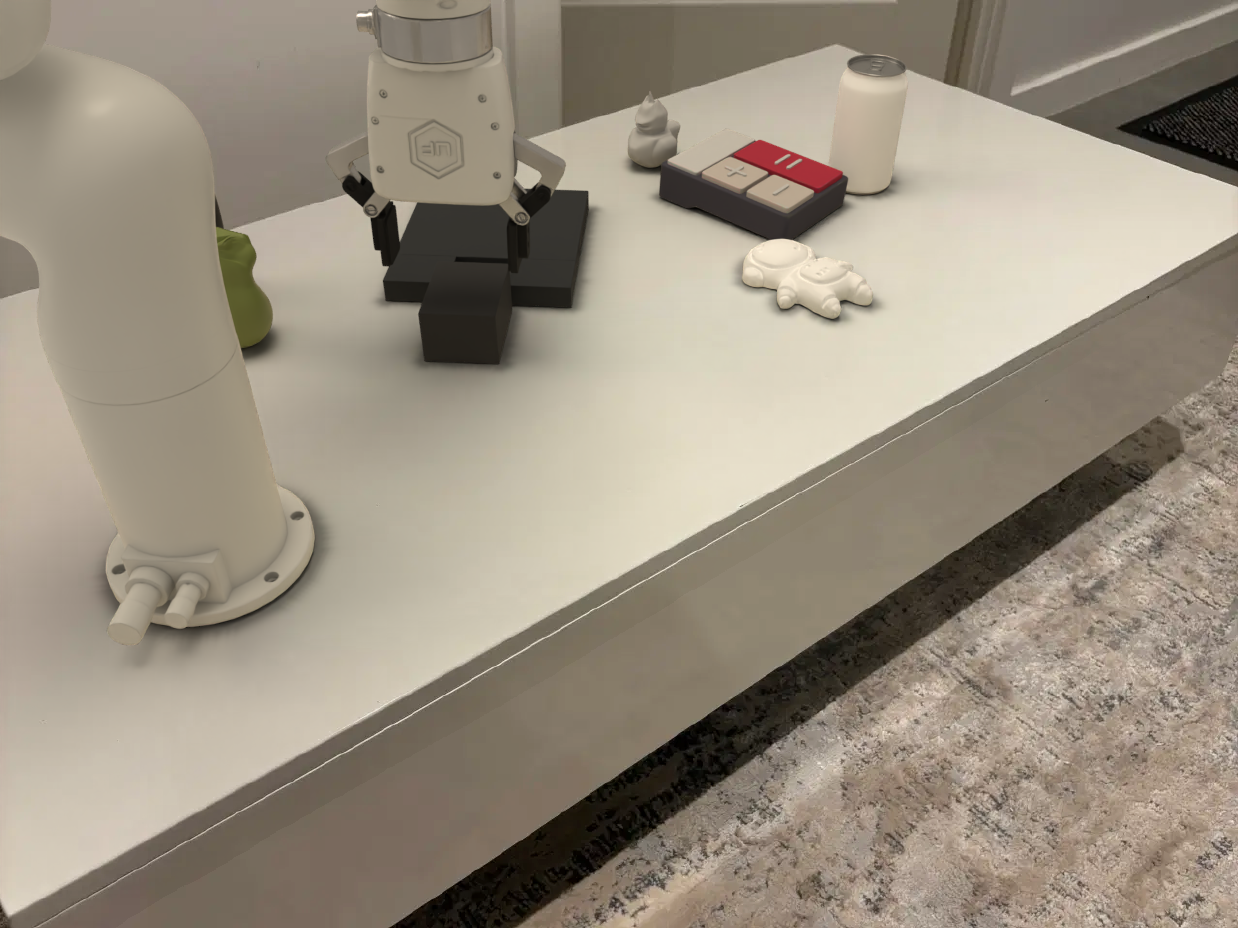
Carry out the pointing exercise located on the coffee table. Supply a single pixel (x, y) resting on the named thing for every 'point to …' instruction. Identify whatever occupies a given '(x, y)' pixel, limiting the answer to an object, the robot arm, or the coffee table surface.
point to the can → (868, 121)
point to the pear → (243, 287)
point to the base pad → (493, 248)
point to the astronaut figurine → (804, 277)
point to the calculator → (753, 184)
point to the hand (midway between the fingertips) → (453, 261)
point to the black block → (466, 312)
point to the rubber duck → (653, 134)
